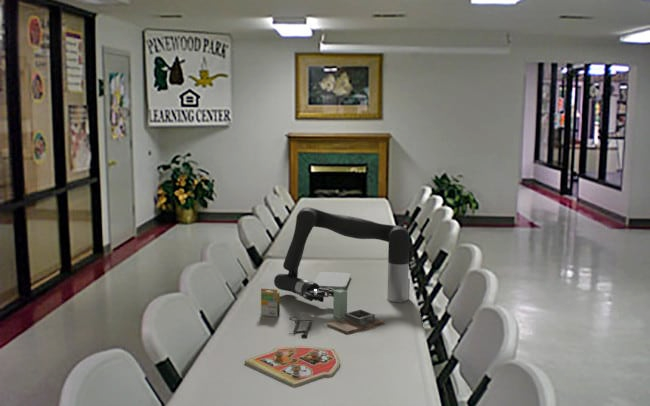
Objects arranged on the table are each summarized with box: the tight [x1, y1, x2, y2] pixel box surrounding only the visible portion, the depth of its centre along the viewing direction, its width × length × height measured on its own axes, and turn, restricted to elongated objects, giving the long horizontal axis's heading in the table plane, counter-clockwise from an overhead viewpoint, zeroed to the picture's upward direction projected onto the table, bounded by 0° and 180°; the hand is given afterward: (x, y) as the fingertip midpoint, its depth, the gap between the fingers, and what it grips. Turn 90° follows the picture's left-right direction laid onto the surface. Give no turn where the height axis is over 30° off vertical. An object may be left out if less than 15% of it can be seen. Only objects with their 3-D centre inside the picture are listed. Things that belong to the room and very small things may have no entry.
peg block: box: [332, 289, 348, 319], centre depth 275 cm, size 4×4×11 cm
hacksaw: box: [288, 316, 314, 339], centre depth 262 cm, size 24×10×2 cm, turn 174°
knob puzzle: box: [244, 345, 341, 388], centre depth 226 cm, size 29×30×4 cm
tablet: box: [313, 271, 352, 290], centre depth 327 cm, size 16×26×2 cm, turn 172°
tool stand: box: [326, 309, 385, 335], centre depth 265 cm, size 20×12×4 cm, turn 129°
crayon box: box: [260, 287, 281, 318], centre depth 276 cm, size 7×3×12 cm, turn 74°
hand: (330, 297), depth 280 cm, fingers open, 8 cm apart
